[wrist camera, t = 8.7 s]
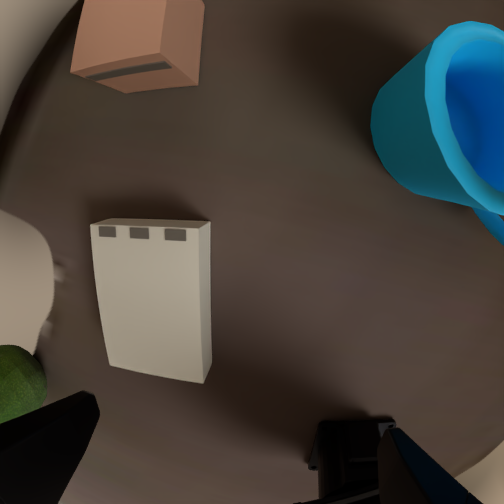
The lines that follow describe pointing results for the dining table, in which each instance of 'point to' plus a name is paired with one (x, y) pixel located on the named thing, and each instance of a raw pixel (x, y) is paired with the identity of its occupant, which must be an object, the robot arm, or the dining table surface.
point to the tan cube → (139, 43)
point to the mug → (448, 121)
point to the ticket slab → (155, 295)
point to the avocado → (20, 383)
